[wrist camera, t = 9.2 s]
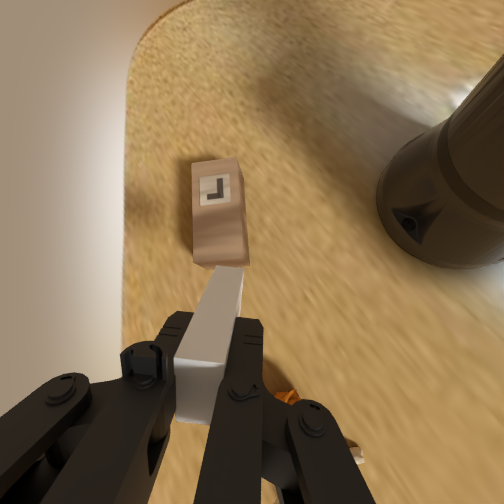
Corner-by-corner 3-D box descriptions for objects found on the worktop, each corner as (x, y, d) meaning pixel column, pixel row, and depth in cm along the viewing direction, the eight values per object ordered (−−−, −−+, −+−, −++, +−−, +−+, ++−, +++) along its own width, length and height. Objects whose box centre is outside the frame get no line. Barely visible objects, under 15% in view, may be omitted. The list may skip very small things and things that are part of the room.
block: (243, 257, 24) (236, 155, 27) (192, 262, 25) (190, 161, 27) (250, 266, 29) (243, 179, 32) (208, 269, 30) (205, 184, 32)
